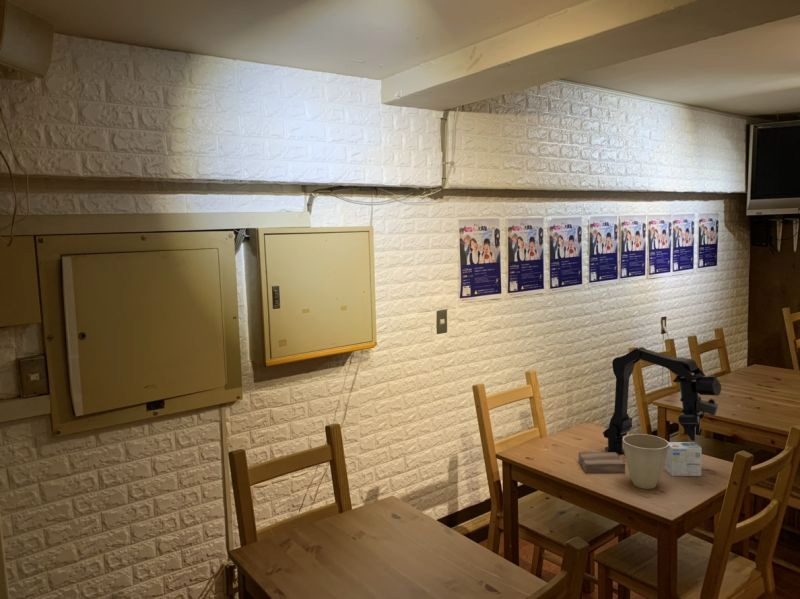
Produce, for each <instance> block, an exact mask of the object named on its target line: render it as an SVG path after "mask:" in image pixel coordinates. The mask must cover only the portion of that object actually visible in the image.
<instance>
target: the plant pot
mask: <svg viewBox="0 0 800 599" xmlns="http://www.w3.org/2000/svg"><path fill="white" fill-rule="evenodd" d="M668 442H669V441H667V440H666V439H664V438H663V437H659V436H657V435H652V434H645V433H632V434H628V435H626V436H623V450H624V452H625V454H624V456H625V460H626V462H625V463H626V465H627V470H628V472H629V476H630V478H631V481H632V484H633V485H634V486H635V487H637V488H639V489H643V490H644V489H645V490H650V489H654V488H656V487H657V484H658V482H659V480H660V478H661V475H662V472H663V470H664V467H665V465H666V456H667V452H668V447H669V443H668Z"/></svg>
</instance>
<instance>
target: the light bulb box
mask: <svg viewBox="0 0 800 599" xmlns="http://www.w3.org/2000/svg"><path fill="white" fill-rule="evenodd" d="M668 443H669V447H668V452H667V456H666V460H665V467H666V468H665V469H666V471H667V472H668V474H670V476H671V477H701V476H702V447H701V445H699V444H698V443H697V442H695V441H681V442H679V441H678V442H677V441H674V442H672V441H668Z"/></svg>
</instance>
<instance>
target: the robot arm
mask: <svg viewBox="0 0 800 599" xmlns="http://www.w3.org/2000/svg"><path fill="white" fill-rule="evenodd" d="M640 361H644V362H647V363H651V364H653V365H657V366H659V367H663V368H666V369H668V370H669V371H670V372H671V373H673V374H675V375H676V377H674V379H673V380H672V381H673V383H679V389H680V396H681V397H680V402H681V405H682V409H681V414H680V415H679V416H678V423H679V424H680V425H681V426H682V428H683V430H684V431H685V432H686V434H687V436H688V437H689V439H690V440H691V441H690V442H695V441H696V435H700V430H701V421H702V419H703V417H705V415H706V414H709V415H711V416H716V414H717V411H718V407H719V405H718V403H716V400H715V399H712V398H709V400H702V397H701V396H717V397H718V396H720V395H721V392H722V384H721V383H720V381H719V379H717V375H706V374H705V373H704V372H703V371H702V369H701V368H700V367H699V366H698V364H697V362H696V360H694V359H692V358H687V357H675V356H670V355H666V354H664V353H659V352H656V351H654V350H650V349H647V348H645V347H642V346H641V347H637V348H634V349H633V350H631V351H630V352H627V353H626V354H623V355H621V356H617V357H615V358H614V359H612V362H611V363H612V364H611V365H612V373H613V374H614V376H615V392H614V393H615V394H614V408H613V409H614V411H613V414H612V416H611V418H610V420H609V424H608V428H606V429H605V430H604V431H603V432H602V434H603V437H604V439H605V438H606V439H607V446H606V447H604V448H605V451H606V452H616V453H617V455H621V454H622V455H625V452H624V444H623V438H624V437H625V436H627V434H628V433H629V432H630V431H631V429H632V428H633V417H630V415H629V414H628V402H629V388H630V377H631V376H632V374H633V372H634V368H635V364H637V363H638V362H640Z"/></svg>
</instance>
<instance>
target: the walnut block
mask: <svg viewBox="0 0 800 599" xmlns="http://www.w3.org/2000/svg"><path fill="white" fill-rule="evenodd" d="M578 463H579V464H580V466H581V468H582V469H583V471H584V470H585V471H584V473H585V474H586V475H589V474H590V475H594V474H595V475H596V474H597V475H599V474H603V475H604V474H605V475H606V474H607V475H608V474H609V475H611V474H613V475H614V474H617V475H618V474H625V473H626V462H624V461H623V460H622V458H621V457H620V455H619V454H617V453H616V452H608V451H602V452H601V451H600V452H598V451H595V452H594V451H592V452H591V451H590V452H585V451H584V452H578Z"/></svg>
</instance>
